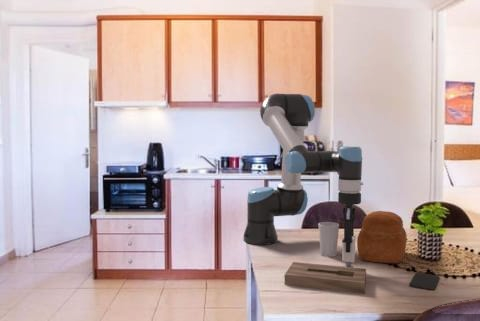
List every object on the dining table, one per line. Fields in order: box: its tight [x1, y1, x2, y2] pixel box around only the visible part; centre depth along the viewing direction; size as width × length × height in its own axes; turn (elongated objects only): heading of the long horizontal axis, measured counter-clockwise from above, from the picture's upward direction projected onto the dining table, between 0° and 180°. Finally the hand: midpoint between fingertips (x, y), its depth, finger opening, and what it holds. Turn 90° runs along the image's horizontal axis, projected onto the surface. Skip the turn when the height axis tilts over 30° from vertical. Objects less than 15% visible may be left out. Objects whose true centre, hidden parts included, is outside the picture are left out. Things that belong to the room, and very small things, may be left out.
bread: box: [356, 210, 408, 264], centre depth 165 cm, size 18×22×17 cm
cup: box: [317, 221, 340, 257], centre depth 167 cm, size 8×8×12 cm
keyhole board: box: [284, 261, 367, 294], centre depth 136 cm, size 14×24×3 cm, turn 72°
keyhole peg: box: [341, 234, 356, 268], centre depth 146 cm, size 4×4×12 cm
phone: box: [408, 272, 440, 292], centre depth 136 cm, size 7×1×15 cm
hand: (348, 259), depth 146 cm, fingers closed on keyhole peg, 4 cm apart
